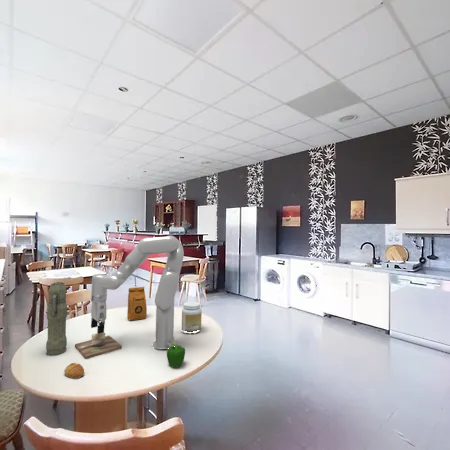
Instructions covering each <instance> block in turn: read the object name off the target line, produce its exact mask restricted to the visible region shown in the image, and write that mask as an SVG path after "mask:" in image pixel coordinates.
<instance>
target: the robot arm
mask: <svg viewBox="0 0 450 450" xmlns="http://www.w3.org/2000/svg"><path fill="white" fill-rule="evenodd" d="M157 254H167V259H166V263H165V267H164V270H163V271H162V274H161V275H160V279H159V282H158V286H157V289H156V293H155V297H154V304H155V307H156V308H155V309H156V312H155V340H154V341H153V342H152V348H153V347H154V348H153V349H154V350H157V349H168V348H170V347H171V346H174V345H171V343H175V344H176V345H177V341H176V340H175V338H174V332H175V331H174V330H175V328H174V326H175V324H174V323H175V322H174V321H175V320H174V319H175V297H176V294H177V289H178V287H179V282H180V273H181V270H182V266H183V261H184V255H185V253H184V247H183V244H182V243H181V241H180V240H179V239H177V237H176V236H174V235H166V236H159V237H144V238H142V239H140V240H139V241H138V244H137V245H136V246H135V247H134V248H133V249H132V251H131V252H130V253H128V254H127V256H126V257H125V258H124V262H123V263H122V264H121V265H120V266H119V267H118V269H117V270H115V271H114V273H112V274H111V275H108V274H105V273H97V274H96V273H95V274H93V275H92V277H91V278H92V279H91V292H90V293H91V296H90V302H91V310H90V316H91V318H90V319H91V321H90V328H91V329H93V328H97V329H96V330H97V333H98V334H99V333H103V332H104V333H105V325H106V324H105V323H106V320H107V297H108V295H107V294H108V290H109V291H110V290H111V291H114V290H117V289H119V288H120V287H121V285H123V284H124V283H125V282H126V280H128V279H129V277H130V276H131V275H132V274H133V273H134V272H135V271H136V270H138V268H139V267H141V265H142V264H143V263H144V262H145V261H146V260H147V259H148V257H149V256H150V255H157ZM97 333H96V334H97Z"/></svg>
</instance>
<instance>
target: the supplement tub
mask: <svg viewBox="0 0 450 450" xmlns="http://www.w3.org/2000/svg"><path fill="white" fill-rule="evenodd" d="M182 307H183V308H182V309H181V310H182V311H181V331H182V330H183V331H187V332H193V331H197V330H200V329H201V330H202V307H201V303H200V302H198V301H187V302H184V303H183V306H182Z"/></svg>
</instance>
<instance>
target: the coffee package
mask: <svg viewBox="0 0 450 450" xmlns="http://www.w3.org/2000/svg"><path fill="white" fill-rule="evenodd" d="M147 311H148V310H147V299H146V293H145V286H139V287H138V286H137V287H129V288H128V295H127V311H126V312H127V319H128V320H129V321H135V320H136V321H137V320H144V319H146V318H147V315H148V314H147Z"/></svg>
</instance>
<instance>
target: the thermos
mask: <svg viewBox="0 0 450 450" xmlns="http://www.w3.org/2000/svg"><path fill="white" fill-rule="evenodd" d="M48 288H49V289H48V305H47V308H46V319H47V340H46V344H45V345H46V346H45V347H46V348H45V349H46V353H45V354H46V355H47V356H48V355H49V357H54V356H59V355H62V354H64V353H66V352H67V344H68V340H67V335H66V334H67V332H66V330H67V329H66V327H67V317H68V304H67V300H66V299H67V286H66V284H65V282H54V283H51V284H50V286H49V287H48Z"/></svg>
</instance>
